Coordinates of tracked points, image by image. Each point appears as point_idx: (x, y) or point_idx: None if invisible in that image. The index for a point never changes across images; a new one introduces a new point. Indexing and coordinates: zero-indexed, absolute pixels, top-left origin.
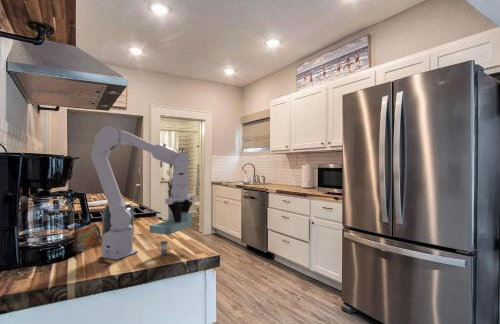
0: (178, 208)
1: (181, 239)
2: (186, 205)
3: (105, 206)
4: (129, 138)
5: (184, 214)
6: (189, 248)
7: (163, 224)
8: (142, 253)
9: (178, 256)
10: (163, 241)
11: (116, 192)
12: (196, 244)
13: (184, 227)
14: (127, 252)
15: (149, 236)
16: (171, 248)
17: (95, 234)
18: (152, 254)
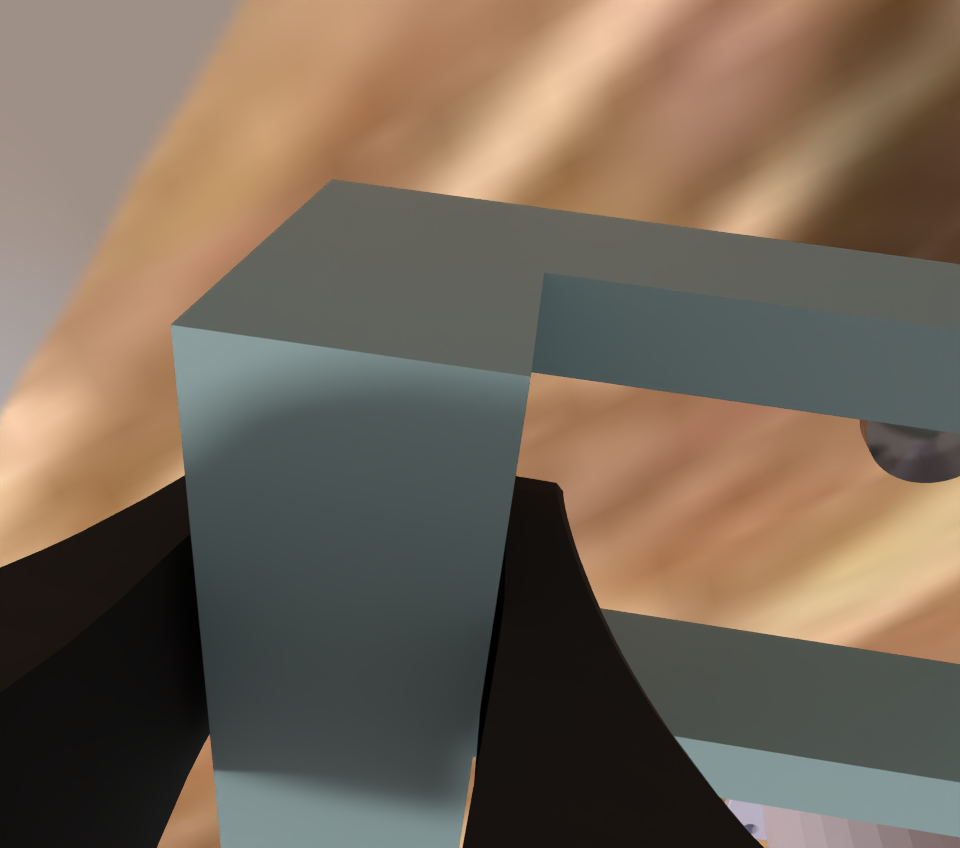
0: (735, 844)
1: (107, 470)
2: (1, 785)
3: None
4: None
5: (514, 478)
6: (459, 135)
7: (785, 715)
8: (815, 605)
9: (924, 81)
10: (926, 442)
11: None
12: (220, 137)
13: (677, 239)
14: None
15: (182, 807)
16: (533, 393)
17: None
18: (846, 486)
